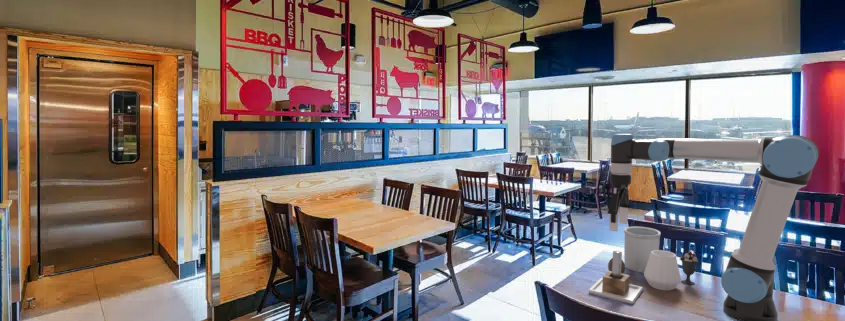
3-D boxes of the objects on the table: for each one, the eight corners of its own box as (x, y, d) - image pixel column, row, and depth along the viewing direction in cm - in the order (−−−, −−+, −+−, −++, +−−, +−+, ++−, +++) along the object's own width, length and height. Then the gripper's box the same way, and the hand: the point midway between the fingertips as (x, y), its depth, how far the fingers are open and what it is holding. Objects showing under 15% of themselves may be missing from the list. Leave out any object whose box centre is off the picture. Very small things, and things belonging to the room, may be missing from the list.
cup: (636, 283, 176) (637, 251, 174) (656, 277, 182) (658, 246, 180) (667, 295, 164) (669, 261, 162) (687, 288, 170) (689, 255, 169)
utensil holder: (645, 275, 184) (647, 237, 182) (615, 265, 197) (617, 229, 195) (665, 269, 191) (667, 232, 189) (635, 259, 204) (637, 224, 202)
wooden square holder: (629, 289, 168) (629, 275, 167) (623, 296, 162) (624, 281, 161) (608, 284, 173) (608, 270, 172) (602, 291, 167) (602, 276, 166)
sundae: (701, 284, 174) (703, 249, 172) (690, 287, 171) (692, 251, 170) (686, 278, 180) (688, 245, 178) (675, 281, 177) (677, 247, 176)
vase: (604, 273, 187) (604, 254, 186) (615, 270, 190) (616, 252, 189) (617, 278, 181) (617, 259, 180) (628, 276, 184) (629, 256, 183)
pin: (621, 289, 168) (622, 251, 165) (618, 292, 165) (620, 254, 163) (612, 287, 170) (614, 250, 167) (610, 290, 167) (611, 252, 165)
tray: (642, 290, 169) (642, 286, 168) (632, 304, 156) (632, 300, 156) (601, 280, 179) (601, 277, 179) (588, 293, 167) (588, 289, 166)
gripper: (619, 169, 174) (617, 219, 176) (600, 176, 155) (598, 232, 157) (639, 170, 169) (636, 221, 172) (622, 178, 150) (619, 235, 153)
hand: (618, 226), depth 165 cm, fingers open, 13 cm apart
